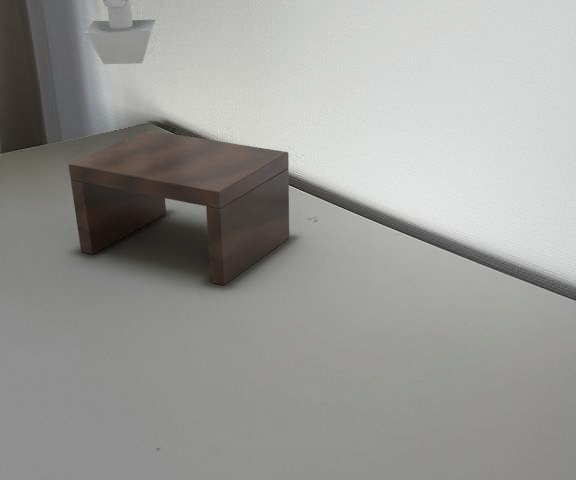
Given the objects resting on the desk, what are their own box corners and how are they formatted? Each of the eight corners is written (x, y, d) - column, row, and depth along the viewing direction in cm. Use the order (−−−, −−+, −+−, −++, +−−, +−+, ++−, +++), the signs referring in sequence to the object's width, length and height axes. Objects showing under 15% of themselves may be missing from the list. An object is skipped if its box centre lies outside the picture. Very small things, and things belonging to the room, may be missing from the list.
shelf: (80, 251, 82) (67, 163, 78) (155, 211, 91) (148, 129, 87) (223, 285, 76) (218, 191, 71) (289, 238, 85) (288, 151, 80)
